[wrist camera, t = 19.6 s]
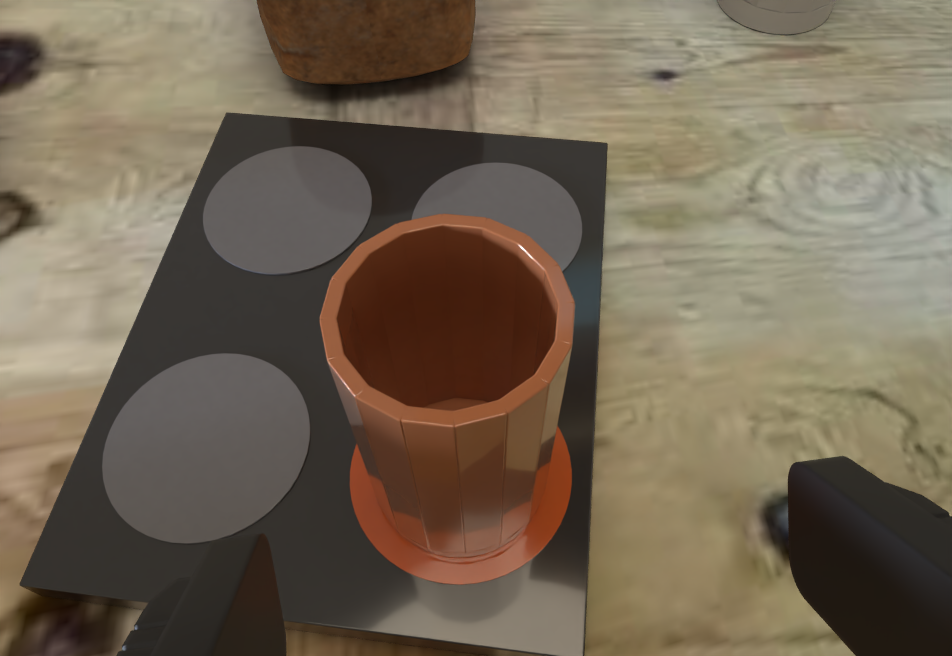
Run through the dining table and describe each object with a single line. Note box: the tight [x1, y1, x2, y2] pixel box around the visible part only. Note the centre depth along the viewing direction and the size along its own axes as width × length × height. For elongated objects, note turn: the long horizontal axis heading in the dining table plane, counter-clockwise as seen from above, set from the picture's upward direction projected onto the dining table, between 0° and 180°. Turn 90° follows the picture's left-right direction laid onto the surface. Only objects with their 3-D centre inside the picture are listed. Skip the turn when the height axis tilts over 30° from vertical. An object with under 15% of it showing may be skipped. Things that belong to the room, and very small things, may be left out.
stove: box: [20, 113, 608, 656], centre depth 30 cm, size 18×22×2 cm
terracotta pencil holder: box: [319, 214, 575, 557], centre depth 22 cm, size 6×6×10 cm
